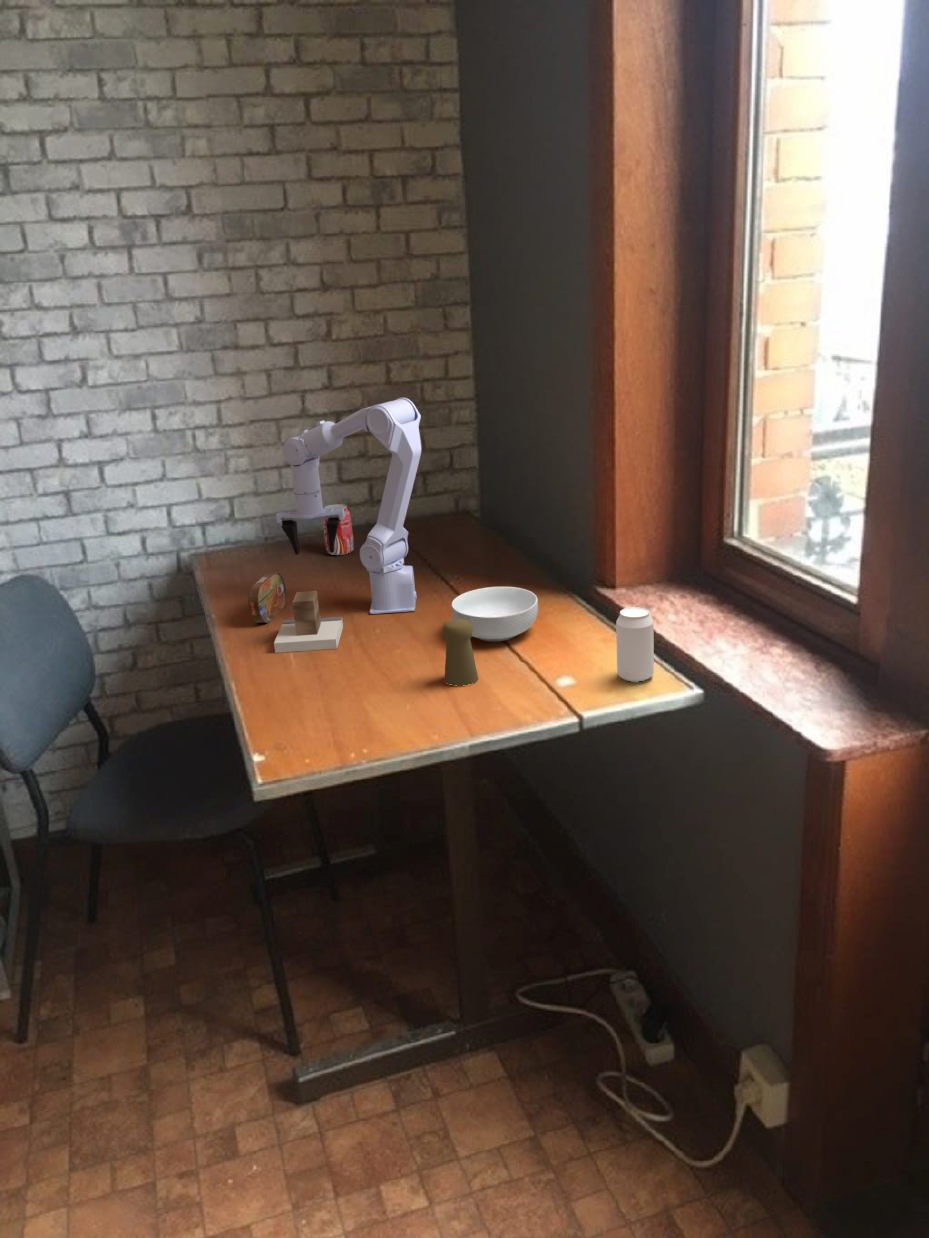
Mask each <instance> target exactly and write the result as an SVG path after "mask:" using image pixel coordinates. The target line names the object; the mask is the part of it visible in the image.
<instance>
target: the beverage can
mask: <svg viewBox="0 0 929 1238" xmlns="http://www.w3.org/2000/svg"><path fill="white" fill-rule="evenodd" d="M615 625H616V627H615V629H616V631H615V634H616V670H617V671H616V672H617V675H618V677H619V678H620V679H622V680H624V679H625V680H624V681H626V680H627V681H626V682H628V681H631V682H630V683H640V682H639V681H643V682H645V681H644V680H646V679H647V680H648V679H650V678H652V676H653V675H654V672H655V668H654V666H655V665H654V664H655V661H654V660H655V659H654V658H655V657H654V656H655V655H654V651H655V650H654V647H655V646H654V641H655V640H654V638H655V637H654V636H655V635H654V634H655V633H654V632H655V631H654V629H655V628H654V620H653V618H652V616H651V614H650V610H649V609H648V608H645V607H640V606H639V607H638V606H631V607H625V608H623V609H621V610H620V611H619V615H618V618H617V619H616V622H615ZM647 680H646V681H647Z"/></svg>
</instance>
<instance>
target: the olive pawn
mask: <svg viewBox="0 0 929 1238" xmlns="http://www.w3.org/2000/svg"><path fill="white" fill-rule="evenodd" d="M472 633H473V628H472V625H471V623H470V622H469V621H467V620H464V619H450V620H448V621H446V622H445V623H444V625H443V627H442V635H443V638H444V639H445V641H446V646H445V661H444V662H445V663H444V665H445V666H444V678H443V679H444V680H445V681H444V683H445V682H446V683H448V684H452V685H457V686H463V685H468V684H472V683H474V684H476V683H477V682H478V681H479V676H478V675H479V674H478V670H477V666H476V660H475V656H474V652H473V651H474V650H473V646H472V641H471V638H472ZM446 683H445V684H446ZM472 685H473V684H472ZM463 687H464V686H463Z"/></svg>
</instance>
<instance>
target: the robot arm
mask: <svg viewBox="0 0 929 1238" xmlns="http://www.w3.org/2000/svg"><path fill="white" fill-rule="evenodd" d="M421 417H422V415H421V414H420V412H419V411H418V408H417V407H416V405H415V404H414V402H413V401H411V400H410V399H409V398H407V397H397V398H396V399H395V400H390V401H386V402H383V403H379V404H374V405H372V406H368V407H365V408H361V409H358V410H357V411H356V412H354V413H352V414H350V415H349V416H347V417H345V418H343V419H342V420H339V421H338V422H337V423H335V422H333V421H330V420H327V421H325V420H320V421H318V422H316V424H315V425H316V426H315V427H313V428H311V429H310V430H309V429H305V430H302V431H300V432H301V434H300V435H298V436H294V437H293V436H292V437H289V438H288V439H287V440H285V442H284V443H283V446H282V453H283V457H284V459H285V460H286V462H287V463H289V465H290V470H291V479H292V487H293V495H294V502H295V509H296V510H295V509H294V510H288V511H279V512H276V515H275V517H276V518H275V519H276V523H277V524H282V525H281V528H282V530H283V532H284V533H285V535H286V536H287V538H288V539H289V541H290V544H291V546H292V548H293V552H294V555H298V556H299V554H300V553H301V549H300V541H299V537H298V534H299V533H298V522H307V521H323V520H325V519H328V521H327V523H326V525H327V530H328V536H329V548H330V553H333V552H334V550H335V538H336V533H337V529H338V526H339V522H340V519H344V518H345V514H344V508H341V509H334V508H324V505H323V504H324V503H323V498H322V497H323V496H322V488H321V480H320V479H321V478H320V472H319V471H320V470H319V467H320V458H321V456H323V455H326V454H327V453H330V452H332V451H333V450H336V449H338V448H340V447H341V446H342V444H343V441H344V438H345V437H348V436H350V435H352V434H355V433H358V432H359V431H362V430H364V431H365V432H366V433H367V432H370V433H371V435H373V437H375V438H376V439H377V440H378V441H379V442H380V443H381V444H382V446H384V448H386V449H387V450H388V451H389V452H390V453H391V459H390V463H389V469H388V472H387V476H386V481H385V486H384V490H383V494H382V499H381V503H380V507H379V511H378V515H377V519H376V523H375V525H374V526H373V527H372V528H371V530H370V531H369V532H368V534H367V536H366V540H365V542H364V543H363V544H362V545H361V547H360V549H359V557H360V558H359V559H360V561H361V563H362V565H363V567H364V568H366V572H368V573H369V584H370V593H371V594H370V595H371V604H370V607H369V614H370V615H374V614H375V615H376V614H377V615H378V614H390V613H392V614H394V613H405V612H415V611H416V603H417V602H416V601H417V599H418V598H417V596H418V595H417V591H416V587H415V586H416V585H415V575H414V568H413V565H405V557H407V554H408V553H409V544H408V536H409V531H408V530H407V529H406V528H405V527H404V524H405V521H406V517H407V511H408V508H409V504H410V500H411V495H412V492H413V488H414V483H415V480H416V477H417V476H416V475H417V471H418V467H419V463H420V461H421V460H420V459H421V455H422V441H421V434H420V428H419V426H420V421H421Z"/></svg>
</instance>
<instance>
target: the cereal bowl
mask: <svg viewBox="0 0 929 1238" xmlns="http://www.w3.org/2000/svg"><path fill="white" fill-rule="evenodd" d="M538 613H539V600H538V597H537V595H536V594H535V593H534V592H533V591H530V590H529V589H525V588H521V587H515V586H489V587H483V588H477V589H473V590H469V591H466V592H464V593H462V594H460V595H458V596H456V597H455V598H454V599H453V600H452V602H451V614H452V618H453V619H464V620H467V621H469V622H470V623H471V625H472V628H473V633H472V636H471V638H473V637H474V638H477V639H479V640H481V641H485V642H494V643H495V642H503V641H509V640H511V639H513V638H515V637H516V636H518V635H521V634H522V633H524V632H526V631H528V630H529V629H530V627H532V626H533V625H534V623H535V621H536V620H537V617H538ZM453 619H452V620H453Z"/></svg>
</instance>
